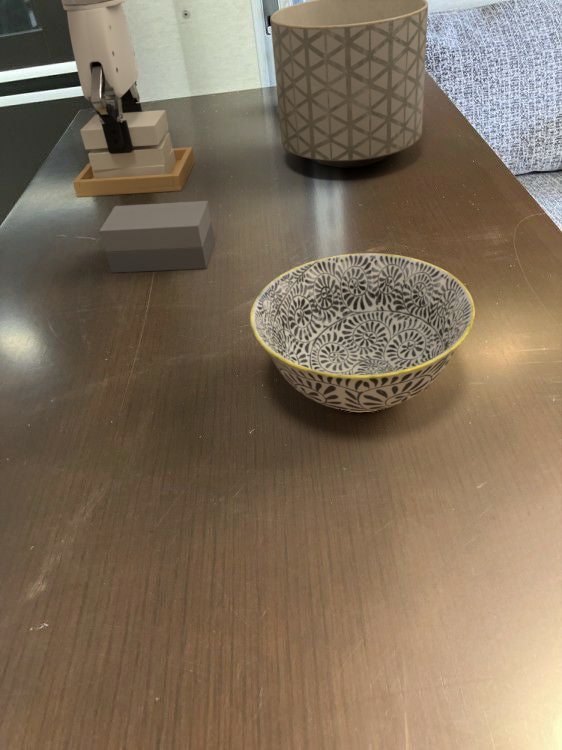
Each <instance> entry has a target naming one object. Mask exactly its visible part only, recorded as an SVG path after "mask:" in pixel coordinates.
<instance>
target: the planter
mask: <svg viewBox="0 0 562 750" xmlns="http://www.w3.org/2000/svg"><path fill="white" fill-rule="evenodd" d="M428 13H429V2H428V1H427V0H307V1H303V2H299V3H295V4H292V5H289V6H286V7H282V8H281V9H278V10H276V11H274V12H273V13H272V14H271V15H270V18H269V19H270V30H271V31H270V32H271V41H272V52H273V53H272V54H273V62H274V63H273V65H274V75H275V87H276V95H277V96H276V97H277V107H278V118H279V119H278V120H279V129H280V138H281V139H280V140H281V141H280V142H281V144H282V146H283V148H284V149H285V150H286V151H288V152H289V153H291V154H292V155H295V156H298V157H301V158H305V159H308V160H311V161H314V162H316V163H318V164H321V165H324V166H329V167H334V168H340V169H341V168H342V169H349V168H350V169H353V168H360V167H364V166H368V165H372V164H375V163H378V162H380V161H382V160H385V159H386V158H388V157H390V156H392V155H393V154H396V153H399V152H401V151H403V150H406V149H407V148H409V147H411V146H413V145H414V144H416V143H417V142H418V141H419V140H420V139H421V137H422V135H423V134H422V133H423V119H424V118H423V117H424V116H423V115H424V94H425V78H426V77H425V75H426V56H427V55H426V53H427V36H428V33H427V32H428V15H429V14H428Z"/></svg>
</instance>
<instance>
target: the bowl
mask: <svg viewBox="0 0 562 750" xmlns="http://www.w3.org/2000/svg"><path fill="white" fill-rule="evenodd" d="M249 313H250V315H249V323H250V327H251V331H252V333H253V335H254V337H255V339H256V340H257V342H258V344H260V346H261V347H262V348H263V349H264V350H265V351H266V353H267V354H268V355H269V357H270V358H271V360H272V362H273V363H274V366H275V367H276V368H277V371H279V373H280V374H281V375H282V377H283V378H284V379H285V380H286V381H287V382H288V383H289V385H290V386H291V387H292V388H294V389H295V390H296V391H298V392H299V393H300V394H302V395H303V396H305V397H306V398H307V399H310V400H311V401H313V402H315V403H318V404H320V405H323V406H324V407H328V408H332V409H336V410H339V409H341V410H340V411H342V410H347V411H374V410H380V409H383V410H386V409H389V408H392V407H395V406H398V405H401V404H403V403H406V402H407V401H410V400H411V399H413V398H415V397H416V396H418V395H419V394H421V393H422V392H424V391H425V390H426V389H428V388H429V387H430V386H431V385H432V384H433V383H434V381H436V380H437V379H438V378H439V376H440V375H441V374H442V372H443V371H444V369H445V368H446V366H447V365H448V363H449V362H450V360H451V358H452V357H453V355H454V353H455V351H457V348H458V347H459V346H460V345H461V344H462V343H463V342H464V340H465V339H466V338H467V337H468V334H469V333H470V331H471V330H472V327H473V325H474V322H475V316H476V308H475V303H474V300H473V297H472V294H471V293H470V291H469V290H468V288H467V287H466V285H465V284H464V283H463V282H461V281H460V280H459V279H458V278H457V277H456V276H455V275H453V274H452V273H450V272H449V271H447V270H445V269H443V268H441V267H440V266H437V265H435V264H432V263H430V262H427V261H424V260H422V259H418V258H415V257H414V258H413V257H410V256H404V255H398V254H391V253H379V252H365V253H364V252H363V253H347V254H340V255H339V254H338V255H334V256H328V257H323V258H319V259H316V260H312V261H309V262H306V263H303V264H300V265H297V266H295V267H293V268H291V269H289V270H287V271H286V272H283V273H282V274H280V275H278V276H277V277H275V278H274V279H273V280H271V281H269V283H268V284H267V285H265V286H264V287H263V288H262V289H261V290H260V292H259V293H258V295H257V296H256V298H255V300H254V302H253V303H252V306H251V309H250V312H249ZM385 408H386V409H385Z"/></svg>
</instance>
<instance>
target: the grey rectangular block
mask: <svg viewBox="0 0 562 750" xmlns="http://www.w3.org/2000/svg"><path fill="white" fill-rule="evenodd" d="M209 205H210V204H209V201H208V200H198V201H197V200H196V201H179V202H178V201H177V202H164V203H145V204H128V205H115V206H114V207H113V208H112V210H111V212H110V213H109V214H108V216H107V218H106V220H105V221H104V222H103V224H102V226H101V227H100V229H99V231H98V233H99V236H100V239H101V243H102V246H103V249H104V252H105V255H106V259H107V262H108V265H109V269H110V272H111V274H116V273H117V274H118V273H139V272H162V271H163V272H164V271H183V270H185V271H187V270H206V269H207V268H208V265H209V262H210V260H211V259H210V258H211V256H212V253H213V249H214V247H215V243H216V240H215V235H214V234H215V233H214V228H213V223H212V218H211V217H212V216H211V212H210V211H211V210H210V206H209Z"/></svg>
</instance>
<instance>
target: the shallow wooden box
mask: <svg viewBox="0 0 562 750" xmlns="http://www.w3.org/2000/svg"><path fill="white" fill-rule="evenodd" d="M172 148H173V149H174V154H175V159H176V165H175V167H174V169H173V171H172V172H171V174H162V175H146V176H130V177H115V178H99V179H94V175H93V172H92V166H91V163H90V161H88V163H87V164H86V165H85V166H84V168H83V169H82V170H81V171H80V173H79V174H78V175H77V176H76V177H75V179H73V181H72V185H73V189H74V191H75V194H76V197H77V198H81V197H99V196H115V195H129V194H131V195H133V194H146V193H147V194H148V193H164V192H165V193H167V192H180V191H182V190H183V188H184V186H185V184H186V181H187V179H188V177H189V175H190V173H191V171H192V168H193V167H194V165H195V162H196V158H195V152H194V148H193V147H192V146H189V147H172Z"/></svg>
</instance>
